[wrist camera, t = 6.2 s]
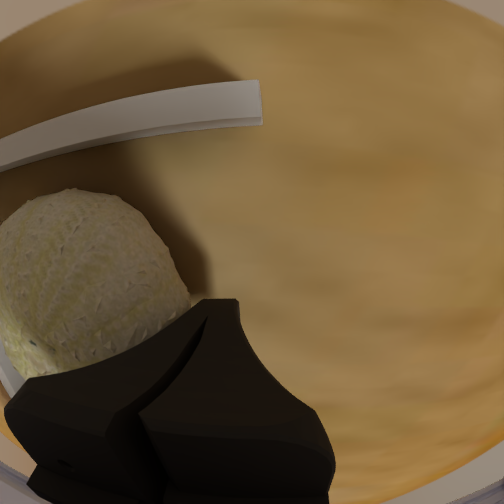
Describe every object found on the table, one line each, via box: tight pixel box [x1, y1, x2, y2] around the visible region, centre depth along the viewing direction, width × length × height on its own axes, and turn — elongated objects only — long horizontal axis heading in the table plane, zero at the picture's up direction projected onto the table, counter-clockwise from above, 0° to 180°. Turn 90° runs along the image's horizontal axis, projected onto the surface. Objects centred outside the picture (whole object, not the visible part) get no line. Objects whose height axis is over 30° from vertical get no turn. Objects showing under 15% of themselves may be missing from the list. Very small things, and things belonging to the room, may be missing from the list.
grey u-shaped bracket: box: [0, 80, 263, 399], centre depth 11 cm, size 15×15×2 cm
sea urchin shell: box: [0, 188, 191, 380], centre depth 10 cm, size 9×8×8 cm
